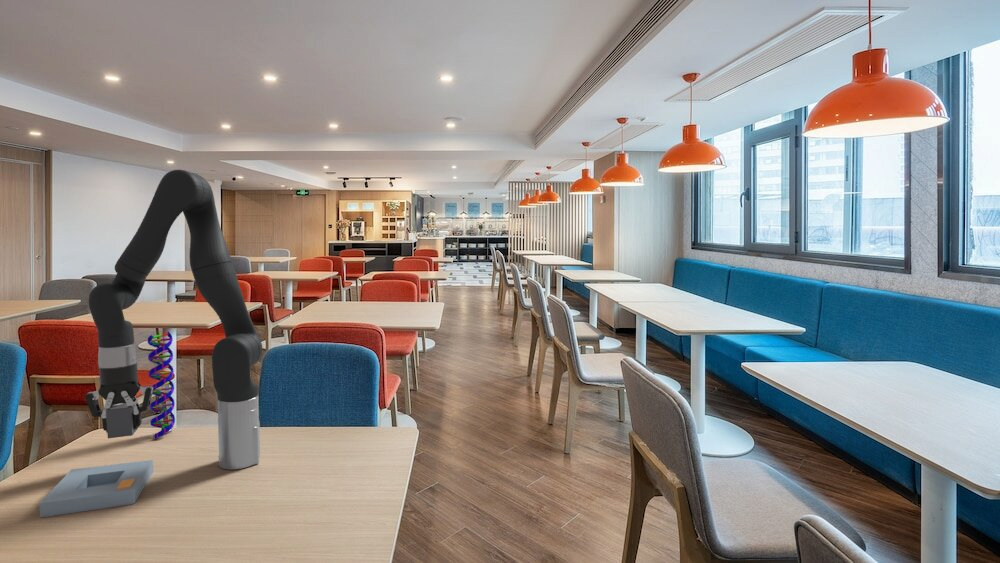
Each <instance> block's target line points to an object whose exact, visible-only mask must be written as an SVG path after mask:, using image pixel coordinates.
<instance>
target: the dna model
mask: <svg viewBox="0 0 1000 563" xmlns="http://www.w3.org/2000/svg"><path fill="white" fill-rule="evenodd" d="M163 337H165V338H163ZM166 337H167V338H166ZM165 341H167V342H165ZM172 343H173V335H172V333H171V332H170V331H167V332H166V333H162V334H161V333H160V334H156V335H152V334H151V335H149V336H148V337H147V344H148V345H149V346H151V347H154V348H156V349H154V350H152V351H151V352H149V353H148V355H147V359H148V361H149V362H151V363H152V364H153V363H154V364H157V366H154V367H152V368H151V369H150V370H149V371H148V376H149V377H150V378H151V379H153V380H157V382H156V383H154V384H153V385H151V386H153V387H154V388H153V393H152V396H153V395H154V396H158V397H159V398H157V399H156V400H153V401H152V402H150V406H149V409H150V410H151V411H154V412H158V413H160V414H158V415H157V416H155V417H153V418H151V419H150V422H149V423H150V425H151V426H152V427H155V428H158V429H160V431H158V432H156V433H155V434H154V436H153V437H154V440H156V439H158V438H160V437H163V435H165V434H168V433H169V432H170V433H172V431H169V430H170V429H173V427H174V425H175V422H176V417H175V414H174V413H173V412H172V411H173V410H174V408H175V399H174V398H173V396H172V395H173V394H174V391H175V385H174V383H173V381H172V380H171V379H172V378H173V376H174V368H173V367H174V366H173V365H171V364H170V363H171V362H172V361H173V359H174V352H173V350H172V349H171V348H170V347H171V345H172ZM166 353H168V354H166ZM163 354H166V355H163ZM164 358H165V359H164ZM166 358H167V359H166ZM164 369H169V370H170V371H162V372H161V370H164ZM159 371H160V372H159ZM165 375H167V376H165ZM166 385H170V387H162V386H166ZM160 387H161V388H160ZM165 391H168V392H165ZM169 401H170V402H169ZM166 402H169V403H166ZM163 403H164V404H163ZM169 406H170V407H169ZM165 407H169V408H165ZM167 417H170V419H169V418H168V419H164V418H167ZM162 419H163V420H162ZM168 422H170V423H169V424H168Z"/></svg>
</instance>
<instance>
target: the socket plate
mask: <svg viewBox="0 0 1000 563" xmlns="http://www.w3.org/2000/svg"><path fill="white" fill-rule="evenodd" d="M153 473H154V459H148V460H139V461H133V462H132V461H131V462H124V463H115V464H114V463H113V464H108V465H107V464H105V465H97V466H91V467H90V466H89V467H80V468H73V469H70V470H69V471H68V473H67V474H66V475H65V476H64V477H63V478H62V479H61V480H60V481H59V482H58V483H57V484H56V485H55V487H53V488H52V490H51V491H50V492H48V494H47V495H45V497H44V498H43V499H42V500H41V501H40V502H39V503H38V504H39V518H47V517H52V516H53V517H54V516H59V515H67V514H73V513H80V512H81V513H82V512H87V511H93V510H100V509H109V508H114V507H120V506H121V507H122V506H128V505H133V504H135V503H136V501H137V500H138V498H139V497H140V494H141V493H142V491H143V490H144V488H145V486H146V485H147V483H148V481H149V480H150V478H151V476H152V474H153Z"/></svg>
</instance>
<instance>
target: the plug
mask: <svg viewBox="0 0 1000 563" xmlns="http://www.w3.org/2000/svg"><path fill="white" fill-rule="evenodd" d="M133 415H134V414H133V412H132V407H128V405H127V403H125V404H122V403H119V404H116V405H113V406H112V407H111V408H110V409H107V410H106V421H107V433H106V434H107V439H117V438H123V437H131V436H133V435H134V434H135V433H136V432H137V430H138V429H139V427H138V428H137V429H134V426H133Z"/></svg>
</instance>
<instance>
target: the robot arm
mask: <svg viewBox="0 0 1000 563" xmlns="http://www.w3.org/2000/svg"><path fill="white" fill-rule="evenodd" d="M217 211H218V210H217V208H216V201H215V197H214V191H213V189H212V186H211V184H210V183H209V181H208V180H207V179H206V178H204V177H203V176H201V175H199V174H197V173H194V172H191V171H187V170H185V169H184V170H183V169H174V170H170V171H169V172H167V173H165V174H164V175H163V177H162V178H161V179H160V181H159V184H158V185H157V187H156V190H155V192H154V195H153V197H152V199H151V202H150V204H149V206H148V207H147V210H146V212H145V215H144V217H143V219H142V221H141V223H140V224H139V227H138V229H137V231H136V232H135V233H134V235H133V237H132V239H131V240H130V242H129V243H128V245H127V246H126V247H125V249H124V250H123V252H122V253H121V255H120V257H119V258H118V259H117V261H116V262H115V264H114V271H115V273H116V274H115V277H114V279H113V280H112V281H111V282H109V283H102V284H98V285H96V286H95V287H93V288H92V289H91V291H90V293H89V296H88V307H89V308H88V309H89V311H90V314H91V318H92V319H93V322H94V324H95V327H96V330H97V339H98V340H97V341H98V354H97V359H98V360H97V364H98V374H99V384H100V385H99V389H98V390H95V391H94V390H92V391H89V392H87V393H86V394H85V395H84V399H85V401H86V403H87V407H88V409H89V411H90V414H91V416H92V417H93V418H96V417H98V418H101V420H102V430H103V431H105V432H106V434H107V421H106V410H107V409H110V408H111V407H112V406H113V405H116V404H121V403H122V404H125V403H127V405H128V407H132V412H133V414H134V415H133V426H134V429H137V428H138V429H139V428H140V426H141V425H142V420H143V419H142V412H146V411H147V410H148V409H150V404H151V403H152V402H151V401H152V396H153V394H152V393H153V388H154V387H153V386H152V385H148V386H147V385H141V384H140V382H139V374H138V361H137V350H136V346H135V335H134V326H133V323H132V322H131V321H130V320H126V319H125V315H124V312H123V310H127V309H128V308H130V307H132V306H133V305H134V304H135V302H136V301H137V300H138V298H139V296H140V295H141V293H142V291H143V287H144V285H145V282H146V280H147V278H148V276H149V275H150V274H151V271H152V270H153V269H154V267H155V265H156V264H157V263H158V261H159V260H160V258H161V256H162V254H163V252H164V249H165V247H166V242H167V237H168V235H169V232H170V230H171V228H172V226H173V224H174V223H175V221H176V220H177V218H178V217H179V216H180V215H181V214H183V215H184V217H185V220H186V224H187V227H188V230H189V235H190V238H189V240H190V242H189V264H190V269H191V272H192V276H193V279H194V281H195V285H196V287H197V289H198V292H199V293H200V295H201V296H202V297H203V299H204V300H205V301H206V303H208V305H209V306H210V307H211V308H212V309H213V311H214V313H216V316H218V318H219V320H220V322H221V325H222V328H223V332H224V335H225V337H224V338H221V339H220V340H218V341H217V342H216V344H215V345H214V347H213V350H212V354H211V355H212V356H211V367H212V380H213V387H214V389H215V392H216V393H217V425H218V426H217V429H218V430H217V431H218V434H217V435H218V466H219V467H220V468H221V469H223V470H240V469H245V468H248V467H251V466H254V465H258V464H259V463H260V457H261V439H260V438H261V437H260V435H261V433H260V432H261V431H260V429H261V428H260V427H261V426H260V416H259V413H260V411H259V409H260V408H259V385H258V383H257V382H256V381H255V382H254V381H252V376H251V367H252V366H254V365H255V364H257V363H258V362H259V361H260V360H261V358H262V355H263V344H262V341H261V338H260V335H259V333H258V331H257V328H256V327H255V325H254V323H253V321H252V318H251V315H250V313H249V310H248V308H247V305H246V301H245V298H244V296H243V295H244V294H243V292H242V289H241V286H240V282H239V278H238V275H237V272H236V270H235V266H234V263H233V259H232V258H231V255H230V252H229V249H228V246H227V242H226V240H225V237H224V233H223V231H222V228H221V225H220V221H219V217H218V212H217ZM140 391H141V395H142V396H143V400H142V404H141V405H140V403H139V401H138V398H137V396H136V395H137V394H138V393H139V392H140ZM99 396H100V397H101V398H102V399H104V401H105V402H104V406H103V409H101V406H100V404H99V401H98V399H100V398H99ZM138 429H137V430H138Z"/></svg>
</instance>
